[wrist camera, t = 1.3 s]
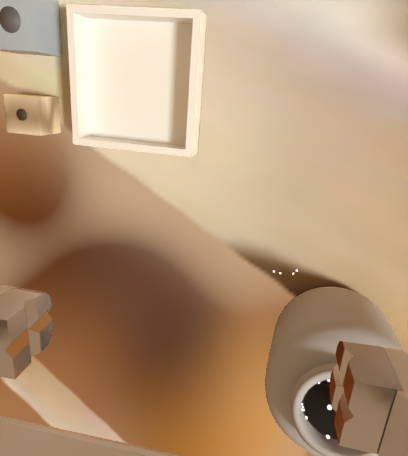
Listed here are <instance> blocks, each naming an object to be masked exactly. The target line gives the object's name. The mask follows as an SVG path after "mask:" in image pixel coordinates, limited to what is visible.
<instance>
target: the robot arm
mask: <svg viewBox="0 0 408 456" xmlns="http://www.w3.org/2000/svg"><path fill="white" fill-rule="evenodd" d="M50 308H51V299H50V296H49V295H48V294H47V293H44V292H39V291H33V290H28V289H22V288H15V287H12V286H4V285H0V377H5V378H11V379H16V378H17V377H18V376H19V375H20V374H21V373H22V372H23V370H24V369H25V368H26V367H27V366H28V365H29V364H30V363H31V356H33V355H35V354H38V353H40V352H42V350H44V348H45V347H46V346H47V345H48V343H49V341H50V339H51V336H52V332H53V320H52V318H51V317H50V316H49V314H48V313H47V312H48V311H49V309H50ZM335 355H336V359H337V363H338V364H337V365H336V366H335V367H333V368H332V372H331V377H330V389H329V392H330V402H331V407H332V408H333V409H334V410H335V411H336V416H335V420H334V423H335V428H336V434H337V439H338V444H339V446H343V447H347V448H352V449H356V450H360V451H365V452H369V453H373V454H377V455H378V456H408V355H407V353H406V352H405V351H404V350H403V349H398V348H391V347H383V346H374V345H366V344H359V343H352V342H345V341H339V343H338V345H337V349H336V353H335ZM0 456H180V455H175V454H171V453H166V452H162V451H157V450H153V449H148V448H144V447H139V446H135V445H130V444H126V443H121V442H117V441H112V440H108V439H103V438H99V437H94V436H90V435H85V434H81V433H76V432H72V431H67V430H63V429H58V428H54V427H49V426H45V425H40V424H35V423H31V422H27V421H22V420H18V419H13V418H9V417H4V416H0Z"/></svg>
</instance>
